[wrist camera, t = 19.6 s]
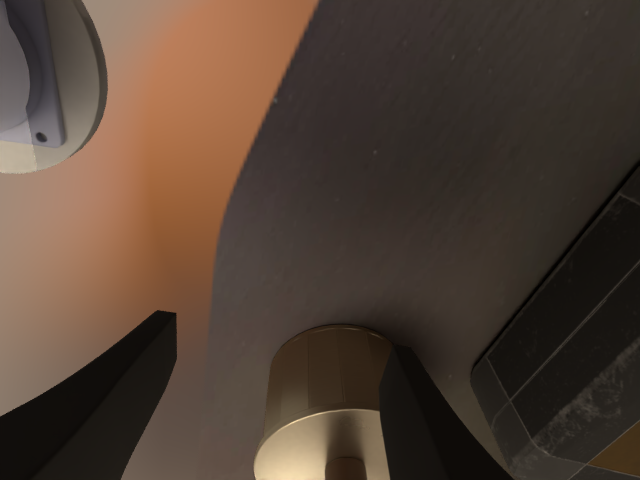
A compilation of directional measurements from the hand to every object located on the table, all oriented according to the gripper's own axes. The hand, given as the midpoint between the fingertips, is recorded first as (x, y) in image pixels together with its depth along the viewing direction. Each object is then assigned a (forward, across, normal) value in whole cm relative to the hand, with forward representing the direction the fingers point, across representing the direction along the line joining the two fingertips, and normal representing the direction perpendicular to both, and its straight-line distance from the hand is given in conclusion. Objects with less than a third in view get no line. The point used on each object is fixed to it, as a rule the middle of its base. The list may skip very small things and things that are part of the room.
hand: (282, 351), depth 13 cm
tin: (+11, -4, +12) cm, 17 cm away
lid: (+5, -5, +12) cm, 14 cm away
